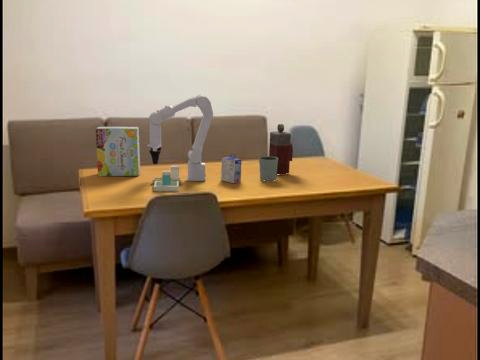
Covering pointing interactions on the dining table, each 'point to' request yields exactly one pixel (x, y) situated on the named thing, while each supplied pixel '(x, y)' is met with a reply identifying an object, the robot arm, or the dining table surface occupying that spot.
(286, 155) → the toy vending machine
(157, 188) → the tray
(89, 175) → the dining table surface
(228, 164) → the ink cartridge box
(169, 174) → the block
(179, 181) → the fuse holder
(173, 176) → the block
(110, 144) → the snack box
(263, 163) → the drinking glass
